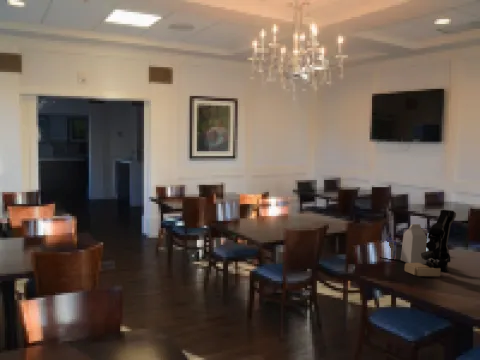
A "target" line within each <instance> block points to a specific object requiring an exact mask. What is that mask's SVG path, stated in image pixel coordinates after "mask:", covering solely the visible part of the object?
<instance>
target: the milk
mask: <svg viewBox="0 0 480 360" xmlns="http://www.w3.org/2000/svg"><path fill="white" fill-rule="evenodd" d="M407 229H408V230H407V231H406V232H405V233H404V232H403V234H404V235H402V236H403V237H402V244H401V245H402V247H401V253H400V261H402V262H404V263H405V264H406V263H421V264H423V265H427V260H424V259H422V257H421V253H423V252H426V251H427V249H426V235H425V233H424V232H423V230H422V229H423V228H422V226H421V224H420V223H411V225H410V226H409V227H408V228H407Z"/></svg>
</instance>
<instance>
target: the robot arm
mask: <svg viewBox="0 0 480 360" xmlns="http://www.w3.org/2000/svg"><path fill="white" fill-rule="evenodd" d="M456 217H457V213H456V212H455V210H450V209H441V210H440V213H439V215H438V218H437V221H436V223H435V224H433V225H432V226H431V227H430V229H429V230H428V234H427V239H429V241H427V244H426V247H427V249H426V252H423V253H421V257H422V259H424V260H426V261H427V262H429V263H430V268H441V271H440V273H441V272H450V270H449V269H448V265H449V263H451V254H450V250H449V248H448V243H449V237H450V232H451V225H452V224H453V223H454V221H455V219H456ZM427 250H428V251H427Z"/></svg>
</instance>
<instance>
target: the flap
mask: <svg viewBox="0 0 480 360" xmlns="http://www.w3.org/2000/svg"><path fill="white" fill-rule="evenodd" d="M415 277H441V268H432V267H429V268H417V275H415Z"/></svg>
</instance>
